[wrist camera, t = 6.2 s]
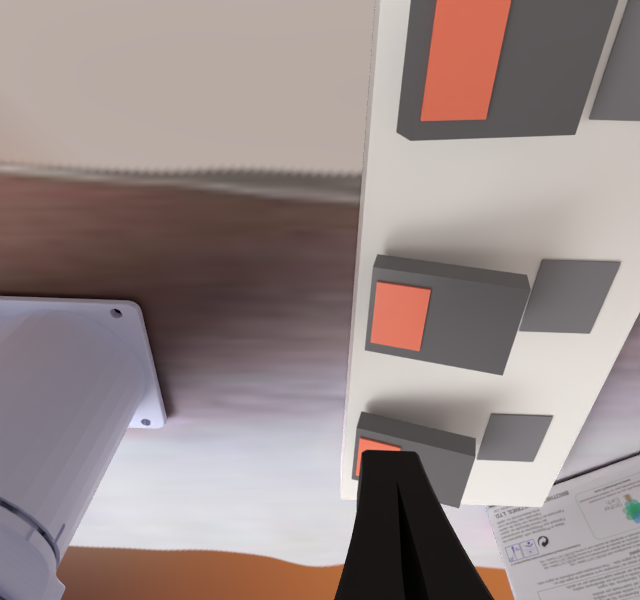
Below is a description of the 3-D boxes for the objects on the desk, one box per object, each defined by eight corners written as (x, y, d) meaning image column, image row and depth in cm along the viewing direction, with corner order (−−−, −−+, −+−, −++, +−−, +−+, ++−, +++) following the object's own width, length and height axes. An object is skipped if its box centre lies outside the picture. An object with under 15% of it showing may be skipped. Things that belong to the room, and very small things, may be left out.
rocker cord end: (396, 132, 12) (412, 141, 11) (413, -30, 10) (434, -33, 9) (552, 127, 13) (577, 135, 12) (594, -20, 11) (629, -23, 11)
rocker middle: (368, 335, 18) (364, 352, 17) (377, 254, 16) (372, 268, 15) (500, 358, 17) (502, 377, 16) (527, 274, 15) (531, 291, 14)
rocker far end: (356, 462, 22) (350, 480, 21) (361, 411, 20) (355, 429, 19) (459, 489, 21) (458, 510, 20) (475, 438, 19) (475, 458, 18)
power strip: (340, 467, 26) (340, 501, 24) (417, -566, 9) (438, -712, 7) (528, 475, 26) (542, 508, 24) (987, -560, 9) (1157, -709, 7)
